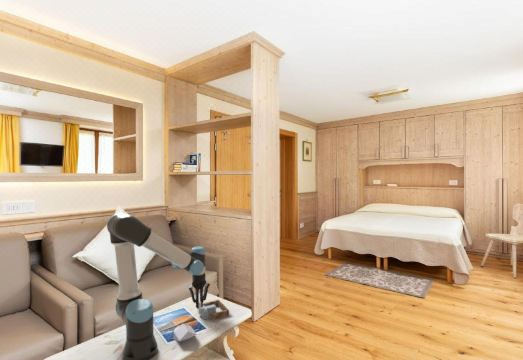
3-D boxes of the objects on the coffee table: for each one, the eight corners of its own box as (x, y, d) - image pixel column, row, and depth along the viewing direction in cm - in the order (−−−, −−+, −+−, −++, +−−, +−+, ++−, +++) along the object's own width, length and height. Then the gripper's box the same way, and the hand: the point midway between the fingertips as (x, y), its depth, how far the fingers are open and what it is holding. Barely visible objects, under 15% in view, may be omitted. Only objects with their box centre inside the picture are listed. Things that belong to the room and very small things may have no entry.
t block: (203, 319, 164) (203, 312, 164) (198, 312, 173) (197, 305, 173) (218, 315, 169) (218, 308, 169) (212, 308, 177) (212, 302, 177)
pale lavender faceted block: (197, 341, 143) (188, 329, 154) (197, 328, 143) (188, 317, 154) (179, 347, 138) (171, 334, 149) (179, 333, 138) (171, 322, 149)
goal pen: (212, 319, 164) (212, 314, 163) (202, 308, 178) (202, 303, 178) (228, 315, 169) (228, 310, 169) (218, 304, 183) (218, 299, 183)
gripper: (189, 277, 161) (190, 318, 162) (211, 273, 168) (212, 312, 168) (186, 273, 168) (186, 313, 168) (207, 269, 174) (207, 307, 175)
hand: (199, 312), depth 168 cm, fingers closed
